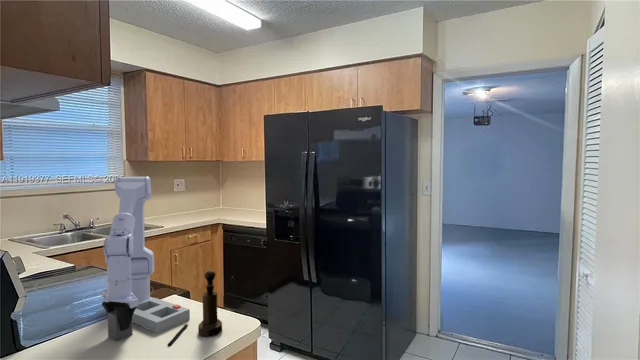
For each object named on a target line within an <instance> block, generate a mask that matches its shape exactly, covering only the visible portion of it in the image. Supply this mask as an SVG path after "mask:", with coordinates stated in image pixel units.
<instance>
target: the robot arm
mask: <svg viewBox="0 0 640 360" xmlns="http://www.w3.org/2000/svg"><path fill="white" fill-rule="evenodd" d="M151 181H152V180H151V177H150V176H148V175H146V176H121V175H119V176H116V178H115V180H114V192H115V194H116V195H117V198H119V199H120V200H119V209H118V213H117V214H116V215H114V217H112V223H111V227H110V231H109V236H108V237H106V238H105V239H104V242H103V254H104V260H105V262H104V263H105V265H106V267H107V268H106V272H107V273H106V274H107V279H106V280H107V289H103V290H101V296H102V297H101V298H102V301H103V302H102V303H101V305H102V307H103V308H104V310H105V312H106V314H107V315H108V312H110V311H113V310H115V311H116V313H117V315H118V319H119V326H120V330H121V331H124V330H126V329H129V327H130V323H131V319H132V316H133V313H134V311H135V309H136V308H137V306H139V302H142V301H145V300H148V299H151V298H153V297H152V296H151V283H150V282H151V276H152V275H153V274H154V271H155V263H156V262H155V258H154V257H155V255H154V251H152V250H151V249H149V248H147V247H146V246H145V245H146V244H145V243H146V242H145V237H146V236H145V203H146V201H148V200H151V197H152V182H151Z"/></svg>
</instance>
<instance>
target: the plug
mask: <svg viewBox="0 0 640 360" xmlns="http://www.w3.org/2000/svg"><path fill="white" fill-rule="evenodd" d="M131 334H132V335H133V323H132V319H131V323H130V327H129V329H126V330H124V331H121V330H120V326H119V319H118V315H117V313H116V311H115V310H113V311H110V312H108V314H107V338H109V339H110V340H113V341H115V342H117V341H120V339H121V340H123V339H125V338H127V336H128V337H130V336H132V335H131ZM129 335H130V336H129ZM122 338H123V339H122Z"/></svg>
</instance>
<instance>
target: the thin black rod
mask: <svg viewBox="0 0 640 360" xmlns="http://www.w3.org/2000/svg"><path fill="white" fill-rule="evenodd" d="M188 325H189V323H185V324H184V326H182V328H180V330H179V331H177V333H176V334H175V335H174V336H173V338H172V339H171V340H170V341H169V342H168V343H167V346H168V347H171V346H172V345H173V344H174V343H175V342H176V341H177V339H178V338H179V337H180V336H181V334H183V333H184V331H185V330H186V328H187V327H188Z"/></svg>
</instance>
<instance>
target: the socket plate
mask: <svg viewBox="0 0 640 360" xmlns="http://www.w3.org/2000/svg"><path fill="white" fill-rule="evenodd" d="M190 313H191V311H190V308H188V307H185V306H181V305H180V304H174V303H172V302H169V301H166V300H163V299H160V298H157V297H152V298H151V299H148V300H145V301H142V302H139V306H137V308H136V309H135V311H134V313H133V316H132V322H134V323H136V324H135V325H137V324H138V325H137V326H139V325H141V326H140V327H142V326H143V327H142V328H144V327H145V329H146V328H148V329H147V330H149V329H150V330H149V331H151V330H152V332H154V331H155V332H154V333H156V332H157V333H161V332H163V331H165V330H167V329H170V328H172V327H174V326H177V325H178V323H179V324H181V323H184V322H185V320H186V321H188V320H190V318H191V317H190V316H191V315H190ZM180 322H181V323H180ZM134 323H133V324H134ZM176 324H177V325H176ZM171 326H172V327H171ZM169 327H170V328H169Z"/></svg>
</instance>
